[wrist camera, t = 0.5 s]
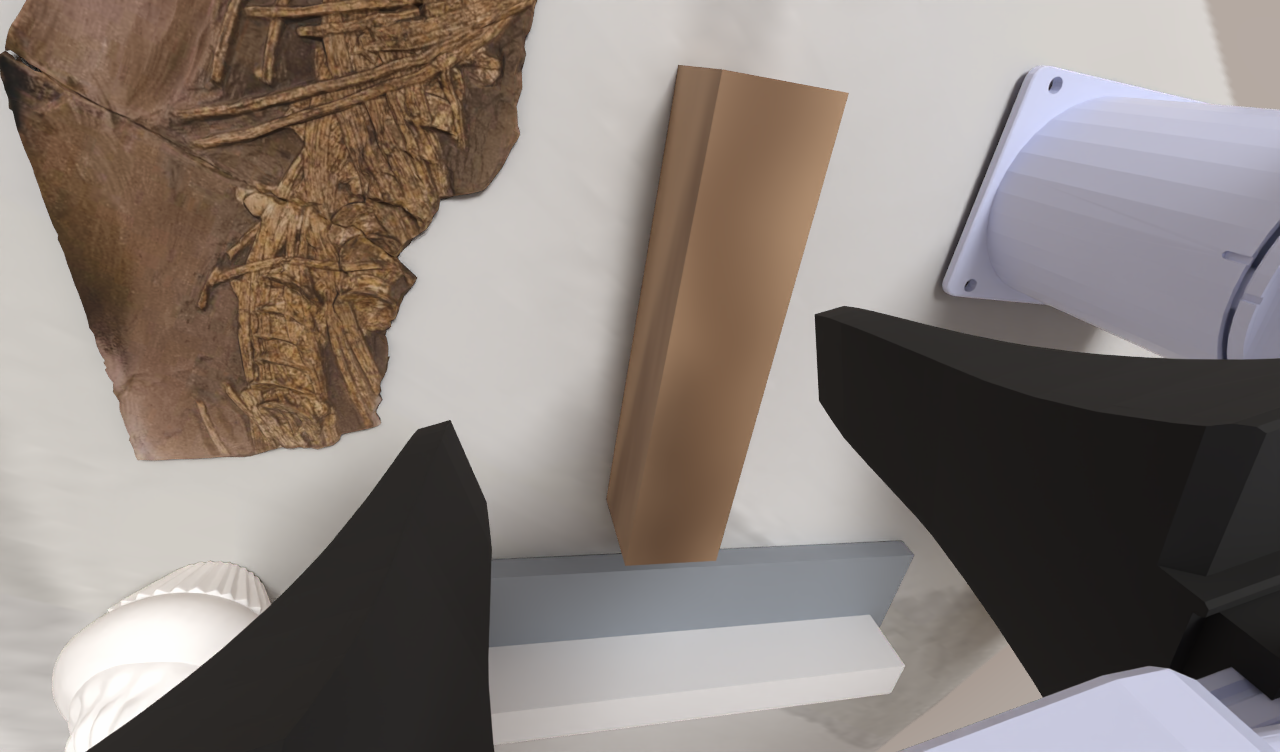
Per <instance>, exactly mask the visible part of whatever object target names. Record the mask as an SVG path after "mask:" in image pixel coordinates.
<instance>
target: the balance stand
mask: <svg viewBox="0 0 1280 752" xmlns="http://www.w3.org/2000/svg"><path fill="white" fill-rule="evenodd" d="M913 557H914V554H913V553H912V552H911V551H910V549H909V548H908V547H907V546H906V545H905V544H904V542H903V541H886V542H865V543H843V544H822V545H800V546H779V547H758V548H736V549H719V552H718V556H717V559H716V561H704V562H686V563H668V564H650V565H632V566H625V563H624V560H623V556H622V554H607V555H586V556H565V557H543V558H522V559H500V560H491V596H490V626H489V657H488V659H489V692H490V706H491V719H492V732H493V744H494V745H501V744H508V743H516V742H523V741H531V740H539V739H546V738H554V737H562V736H569V735H577V734H585V733H592V732H600V731H608V730H615V729H623V728H631V727H638V726H646V725H654V724H661V723H669V722H677V721H684V720H692V719H699V718H707V717H715V716H722V715H730V714H738V713H745V712H753V711H761V710H768V709H776V708H784V707H791V706H799V705H807V704H814V703H822V702H830V701H837V700H845V699H853V698H860V697H868V696H875V695H883V694H891V692H892V690H893V688H894V686H895V684H896V682H897V681H898V679H899V677H900V675H901V673H902V671H903V669H904V667H905V665H904V663H903V662H902V660H901V659H900V657H899V656H898V654H897V653H896V652H895V650H894V649H893V647H892V646H891V644H890V643H889V641H888V640H887V639H886V637H885V636H884V634H883V633H882V631H881V630H880V628H879V627H880V625H881V623H882V621H883V619H884V617H885V615H886V613H887V611H888V609H889V607H890V605H891V603H892V600H893V598H894V596H895V594H896V592H897V590H898V588H899V586H900V584H901V582H902V580H903V578H904V576H905V573H906V571H907V569H908V567H909V565H910V563H911V561H912V559H913Z"/></svg>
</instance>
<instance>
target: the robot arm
mask: <svg viewBox="0 0 1280 752" xmlns="http://www.w3.org/2000/svg"><path fill="white" fill-rule="evenodd" d="M1052 79H1053V84H1052V87H1051V89H1050V90H1049V89H1048V88H1049V84H1050V82H1051V81H1052ZM967 281H969V283H968V285H967V286H966V287H965V284H966V283H967ZM942 287H943V290H944V291H945V292H946V293H948V294H949V295H952V296H956V297H967V298H978V299H989V300H1000V301H1011V302H1022V303H1032V304H1043V305H1049V306H1052V307H1054V308H1056V309H1058V310H1060V311H1063V312H1065V313H1067V314H1069V315H1071V316H1074V317H1076V318H1078V319H1080V320H1082V321H1085V322H1087V323H1089V324H1091V325H1093V326H1096V327H1098V328H1100V329H1102V330H1104V331H1107V332H1109V333H1111V334H1113V335H1115V336H1118V337H1120V338H1122V339H1124V340H1126V341H1129V342H1131V343H1133V344H1135V345H1137V346H1140V347H1142V348H1144V349H1146V350H1148V351H1151V352H1153V353H1155V354H1157V355H1159V356H1161V357H1164V358H1145V357H1130V356H1115V355H1101V354H1090V353H1080V352H1070V351H1063V350H1055V349H1048V348H1040V347H1033V346H1026V345H1020V344H1014V343H1008V342H1003V341H998V340H993V339H988V338H983V337H978V336H973V335H968V334H964V333H959V332H955V331H950V330H946V329H942V328H938V327H934V326H930V325H926V324H922V323H918V322H914V321H910V320H906V319H902V318H898V317H894V316H890V315H886V314H882V313H878V312H874V311H869V310H865V309H860V308H854V307H847V306H842V307H839V308H835V309H832V310H828V311H825V312H821V313H818V314H815V330H816V349H817V369H818V388H819V401H820V403H821V404H822V406H823V408H824V409H825V411H826V412H827V414H828V415H829V417H830V418H831V420H832V421H833V423H834V424H835V426H836V427H837V429H838V430H839V431H840V433H841V434H842V436H843V437H844V438H845V440H846V441H847V442H848V443H849V444H850V445H851V446H852V447H853V449H854V450H855V451H856V452H857V453H858V454H859V455H860V456H861V457H862V459H863V460H864V461H865V462H866V463H867V464H868V465H869V466H870V467H871V468H872V469H873V471H874V472H875V473H876V474H877V475H878V476H879V477H880V478H881V479H882V480H883V481H884V482H885V483H886V485H887V486H888V487H889V488H890V489H891V490H892V491H893V492H894V493H895V494H896V495H897V496H898V497H899V499H900V500H901V501H902V502H903V503H904V504H905V505H906V506H907V507H908V508H909V509H910V510H911V512H912V513H913V514H914V515H915V516H916V517H917V518H918V519H919V521H920V522H921V523H922V524H923V525H924V526H925V528H926V529H927V530H928V531H929V532H930V534H931V535H932V536H933V537H934V539H935V540H936V541H937V543H938V544H939V545H940V547H941V548H942V549H943V551H944V552H945V553H946V555H947V556H948V558H949V559H950V560H951V562H952V563H953V564H954V566H955V567H956V568H957V570H958V571H959V572H960V574H961V575H962V576H963V578H964V579H965V581H966V582H967V584H968V585H969V586H970V588H971V589H972V591H973V592H974V594H975V595H976V596H977V598H978V599H979V601H980V602H981V604H982V605H983V606H984V608H985V609H986V611H987V612H988V614H989V615H990V616H991V618H992V619H993V621H994V622H995V624H996V625H997V627H998V628H999V630H1000V631H1001V633H1002V634H1003V636H1004V637H1005V639H1006V640H1007V642H1008V644H1009V645H1010V646H1011V648H1012V650H1013V651H1014V653H1015V654H1016V656H1017V657H1018V659H1019V660H1020V662H1021V663H1022V665H1023V666H1024V668H1025V670H1026V671H1027V673H1028V674H1029V676H1030V677H1031V679H1032V680H1033V682H1034V683H1035V685H1036V687H1037V688H1038V690H1039V692H1040V693H1041V695H1042V697H1043V698H1041V699H1038V700H1036V701H1033V702H1030V703H1027V704H1025V705H1022V706H1020V707H1016V708H1014V709H1011V710H1009V711H1006V712H1003V713H1000V714H998V715H995V716H992V717H990V718H987V719H984V720H982V721H979V722H976V723H973V724H971V725H968V726H965V727H963V728H960V729H957V730H955V731H952V732H949V733H946V734H944V735H941V736H938V737H936V738H933V739H930V740H927V741H925V742H922V743H920V744H917V745H914V746H911V747H909V748H906V749H903V750H901V751H898V752H1280V110H1276V109H1265V108H1253V107H1240V106H1228V105H1216V104H1209V103H1204V102H1200V101H1196V100H1192V99H1187V98H1183V97H1179V96H1175V95H1171V94H1166V93H1162V92H1158V91H1154V90H1149V89H1145V88H1141V87H1137V86H1132V85H1128V84H1124V83H1120V82H1116V81H1111V80H1107V79H1103V78H1099V77H1094V76H1090V75H1086V74H1082V73H1078V72H1073V71H1069V70H1065V69H1061V68H1056V67H1052V66H1036V67H1034V68H1032V69H1031V70H1030V71H1029V72H1028V73H1027V75H1026V77H1025V79H1024V81H1023V83H1022V86H1021V88H1020V91H1019V93H1018V96H1017V98H1016V101H1015V103H1014V106H1013V108H1012V111H1011V113H1010V116H1009V118H1008V121H1007V123H1006V126H1005V128H1004V131H1003V133H1002V136H1001V138H1000V141H999V143H998V145H997V148H996V150H995V153H994V155H993V158H992V160H991V163H990V165H989V168H988V170H987V173H986V175H985V178H984V180H983V183H982V185H981V188H980V190H979V193H978V195H977V198H976V200H975V203H974V205H973V208H972V210H971V213H970V215H969V218H968V220H967V222H966V225H965V227H964V230H963V232H962V235H961V237H960V240H959V242H958V245H957V247H956V250H955V252H954V255H953V257H952V260H951V262H950V265H949V267H948V270H947V272H946V275H945V277H944V280H943V284H942ZM491 557H492V547H491V537H490V527H489V519H488V511H487V502H486V500H485V498H484V495H483V493H482V491H481V489H480V486H479V484H478V482H477V480H476V477H475V475H474V473H473V470H472V468H471V466H470V464H469V461H468V459H467V457H466V455H465V452H464V450H463V448H462V445H461V443H460V441H459V439H458V436H457V434H456V432H455V430H454V427H453V425H452V423H451V420H449V421H445V422H442V423H438V424H435V425H432V426H428V427H425V428H421V429H418V430H417V431H416V432H415V433H414V434H413V436H412V437H411V438H410V440H409V441H408V442H407V444H406V445H405V446H404V448H403V449H402V451H401V452H400V453H399V455H398V456H397V458H396V459H395V460H394V462H393V463H392V465H391V466H390V467H389V469H388V470H387V472H386V473H385V474H384V476H383V477H382V478H381V480H380V481H379V482H378V484H377V485H376V487H375V488H374V489H373V491H372V492H371V493H370V495H369V496H368V497H367V499H366V500H365V501H364V503H363V504H362V505H361V506H360V508H359V509H358V510H357V511H356V512H355V514H354V515H353V516H352V517H351V519H350V520H349V521H348V522H347V524H346V525H345V526H344V527H343V528H342V530H341V531H340V532H339V533H338V535H337V536H336V537H335V538H334V539H333V541H332V542H331V543H330V544H329V545H328V547H327V548H326V549H325V550H324V551H323V552H322V553H321V554H320V556H319V557H318V558H317V559H316V560H315V561H314V562H313V563H312V564H311V565H310V566H309V567H308V568H307V569H306V570H305V572H304V573H303V574H302V575H301V576H300V577H299V578H298V579H297V580H296V581H295V582H294V583H293V584H292V585H291V586H290V587H289V588H288V589H287V590H286V591H285V592H284V593H283V594H282V595H281V596H280V597H279V598H278V599H277V600H276V601H275V602H273V603H272V604H271V605H270V606H269V607H268V608H267V609H266V610H265V611H263V612H262V613H261V614H260V615H259V616H258V617H257V618H256V619H255V620H253V621H252V622H251V623H250V624H249V625H248V626H247V627H246V628H245V629H243V630H242V631H241V632H240V633H239V634H238V635H237V636H236V637H235V638H233V639H232V640H231V641H230V642H229V643H228V644H227V645H226V646H225V647H223V648H222V649H221V650H220V651H219V652H217V653H216V654H215V655H214V656H213V657H211V658H210V659H209V660H208V661H206V662H205V663H204V664H203V665H201V666H200V667H199V668H198V669H197V670H195V671H194V672H193V673H192V674H190V675H189V676H188V677H187V678H185V679H184V680H183V681H182V682H180V683H179V684H178V685H176V686H175V687H174V688H172V689H171V690H170V691H169V692H167V693H166V694H165V695H163V696H162V697H161V698H159V699H158V700H157V701H156V702H154V703H153V704H152V705H150V706H149V707H148V708H146V709H145V710H144V711H142V712H141V713H140V714H138V715H137V716H135V717H134V718H133V719H131V720H130V721H129V722H127V723H126V724H124V725H123V726H122V727H120V728H119V729H117V730H116V731H114V732H113V733H112V734H110V735H109V736H107V737H106V738H104V739H103V740H101V741H100V742H99V743H97V744H96V745H94V746H93V747H91V748H90V749H89V750H87V751H86V752H494V744H493V732H492V719H491V706H490V692H489V659H488V657H489V626H490V596H491Z"/></svg>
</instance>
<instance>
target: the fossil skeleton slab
mask: <svg viewBox="0 0 1280 752" xmlns="http://www.w3.org/2000/svg"><path fill="white" fill-rule="evenodd" d="M536 2H537V0H26V2H25V4H24V5H23V7H22V9H21V11H20V13H19V14H18V16H17V17H16V19H15V20H14V22H13V23H12V24H11V27H10V29H9V32H8V35H7V39H6V45H5V51H4V52H3V53H1V54H0V74H1V79H2V81H3V84H4V87H5V91H6V93H7V96H8V98H9V109H11V110H12V111H13V114H14V118H15V122H16V126H17V130H18V132H19V135H20V138H21V141H22V144H23V146H24V149H25V151H26V154H27V156H28V158H29V160H30V163H31V165H32V167H33V170H34V174H35V177H36V180H37V183H38V185H39V188H40V191H41V194H42V198H43V200H44V203H45V205H46V208H47V211H48V213H49V216H50V219H51V221H52V224H53V226H54V228H55V230H56V232H57V234H58V241H59V243H60V245H61V247H62V249H63V252H64V254H65V257H66V261H67V264H68V267H69V269H70V272H71V274H72V278H73V281H74V284H75V286H76V289H77V291H78V293H79V296H80V299H81V301H82V304H83V307H84V310H85V313H86V316H87V320H88V324H89V328H90V329H91V331H92V332H93V333H94V336H95V340H96V344H97V347H98V349H99V352H100V354H101V356H102V357H103V358H104V360H105V362H104V364H105V366H106V367H107V368H106V369H105V371H106V372H107V374H108V376H109V378H110V379H111V380H112V381H113V383H114V384H113V392H114V394H115V395H116V397H117V398H118V400H119V402H120V412H121V415H122V417H123V420H124V423H125V426H126V429H127V431H128V433H129V435H130V438H129V441H130V443H131V444H132V446H133V448H134V452H135V456H136V458H137V460H168V459H197V458H212V457H246V456H253V455H256V454H259V453H263V452H266V451H269V450H272V449H276V448H280V447H284V448H297V447H302V448H310V447H312V448H315V449H319V448H323V447H327V446H331V445H334V444H335V443H336V442H337V441H339V440H340V437H341V434H345V433H349V432H354V431H359V430H364V429H368V428H372V427H375V426H378V425H379V424H380V423H381V420H380V418H379V416H378V415H377V413H376V410H377V408H378V406H379V404H380V402H381V401H382V397H381V395H380V392H381V387H380V383H381V380H382V378H383V377H384V375H385V373H386V370H387V365H388V360H389V357H390V356H389V357H388V343H387V338H386V336H385V334H386V329H388V328H390V327H391V321H392V320H394V319H395V318H396V316H397V313H398V311H399V307H400V304H401V302H402V299H403V297H404V295H405V294H406V293H407V292H408V291H409V290H410V288H411V287H412V286H413V285H414V283H415V282H416V279H417V277H416V276H415V275H414V274H413V273H412V272H411V271H410V270H409V269H408V268H407V267H406V266H404V265H403V264H402V263H401V262H400V261H399V259H398V258H397V257H398V256H399V254H400V253H401V251H402V250H403V249H404V248H406V247H407V246H408V245H409V244H410V242H411V241H412V239H413V237H415V236H417V235H419V234H420V233H422V232H423V231H425V230H426V229H427V227H428V226H429V224H430V222H431V221H432V219H433V215H434V214H435V213H436V212H437V211H438V209H439V204H440V199H445V198H449V197H453V196H457V195H464V194H471V193H475V192H480V191H483V190H484V189H486V188H487V186H488V185H489V184H490V183H491V181H492V180H493V179H494V177H495V176H496V175H497V173H498V172H499V171H500V169H501V168H502V166H503V165H504V163H505V161H506V159H507V157H508V155H509V152H510V150H511V148H512V146H513V145H514V144H515V142H516V141H517V139H518V137H519V135H520V131H519V127H518V120H517V107H516V106H517V103H518V100H519V96H520V93H521V90H522V68H523V64H524V60H525V56H526V52H525V48H524V45H525V38H526V35H527V34H528V33H529V32H530V29H531V26H532V22H533V16H534V8H535V4H536ZM8 50H11V51H13V52H14V53H16V54H17V55H18V56H19V58H18V59H16V60H15V59H14V57H13V56H12V55H11V54H9V53H8V52H6V51H8ZM20 57H21V58H24V59H25V60H26V61H27V62H28V63H29V64H31V65H33V66H35V67H37V68H39V69H40V70H41V72H42V73H41V72H37V71H34V70H33V69H31V68H30V67H28V66H27V65H25V64H24V63H22V61H21V59H20Z"/></svg>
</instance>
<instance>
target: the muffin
mask: <svg viewBox="0 0 1280 752" xmlns="http://www.w3.org/2000/svg"><path fill="white" fill-rule="evenodd" d="M270 605H271V603H270V601H269V598H268V595H267V593H266V590H265V587H264V585H263V583H261V582H260V579H259V578H258V577H256V576H254V573H253V572H248V571H247V569H246V568H240V567H239V566H238V565H237V564H232V563H230V562H228V563H223V562H221V561H218V562H212V561H208V562H206V563H203V562H198V563H196V564H195V565H194V564H189V565H187V566H185V567H182V568H180V569H178V570H176V571H174V572H172V573H171V574H169V575H167V576H165V577H163V578H161V579H159V580H158V581H156V582H154V583H152V584H150V585H148V586H146V587H145V588H143V589H141V590H139V591H137V592H135V593H134V594H132V595H130V596H128V597H126V598H124V599H123V600H122V601H121V602H119V603H117V604H116V605H114V606H112V607H110V608H109V609H108V610H107V611H108V613H106V614H105V615H103V616H101V617H100V618H98V619H96V620H95V621H94V622H92V623H91V624H89V625H88V626H86V627H85V628H84V629H82V630H81V631H80V632H79V633H77V634H76V635H75V636H74V637H73V638H72V639H71V640H70V641H69V642H68V643H67V644H66V646H65V647H64V648H63V650H62V651H61V653H60V654H59V656H58V658H57V660H56V663H55V666H54V670H53V675H52V692H53V697H54V701H55V704H56V706H57V708H58V710H59V712H60V713H61V715H62V716H63V718H64V719H65V720H66V721H67V722H68V729H69V732H70V734H71V735H70V737H69V739H68V740H67V743H66V746H65V752H86V751H87V750H89V749H90V748H91V747H93V746H94V745H96V744H97V743H99V742H100V741H101V740H103V739H104V738H106V737H107V736H109V735H110V734H112V733H113V732H114V731H116V730H117V729H119V728H120V727H122V726H123V725H124V724H126V723H127V722H129V721H130V720H131V719H133V718H134V717H135V716H137V715H138V714H140V713H141V712H142V711H144V710H145V709H146V708H148V707H149V706H150V705H152V704H153V703H154V702H156V701H157V700H158V699H159V698H161V697H162V696H163V695H165V694H166V693H167V692H169V691H170V690H171V689H172V688H174V687H175V686H176V685H178V684H179V683H180V682H182V681H183V680H184V679H185V678H187V677H188V676H189V675H190V674H192V673H193V672H194V671H195V670H197V669H198V668H199V667H200V666H201V665H203V664H204V663H205V662H206V661H208V660H209V659H210V658H211V657H213V656H214V655H215V654H216V653H217V652H219V651H220V650H221V649H222V648H223V647H225V646H226V645H227V644H228V643H229V642H230V641H231V640H232V639H233V638H235V637H236V636H237V635H238V634H239V633H240V632H241V631H242V630H243V629H245V628H246V627H247V626H248V625H249V624H250V623H251V622H252V621H253V620H255V619H256V618H257V617H258V616H259V615H260V614H261V613H262V612H263V611H265V610H266V609H267V608H268V607H269V606H270Z"/></svg>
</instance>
